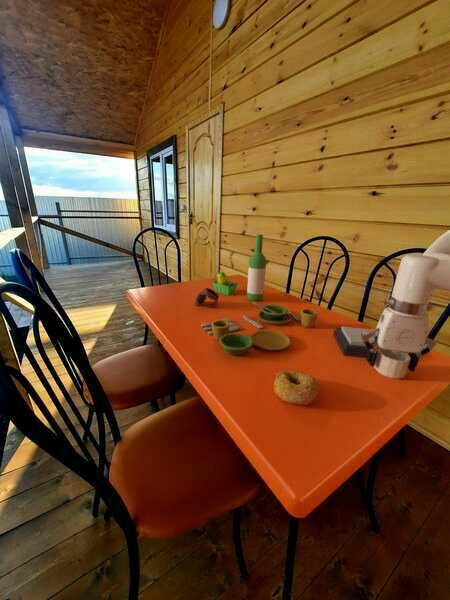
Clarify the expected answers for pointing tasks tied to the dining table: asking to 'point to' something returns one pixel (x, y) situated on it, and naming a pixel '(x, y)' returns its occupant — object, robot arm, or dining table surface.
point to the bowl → (392, 363)
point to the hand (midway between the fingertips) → (389, 366)
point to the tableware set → (262, 338)
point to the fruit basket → (224, 284)
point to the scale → (346, 347)
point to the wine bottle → (256, 272)
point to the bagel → (296, 387)
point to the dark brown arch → (209, 294)
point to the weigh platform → (355, 335)
